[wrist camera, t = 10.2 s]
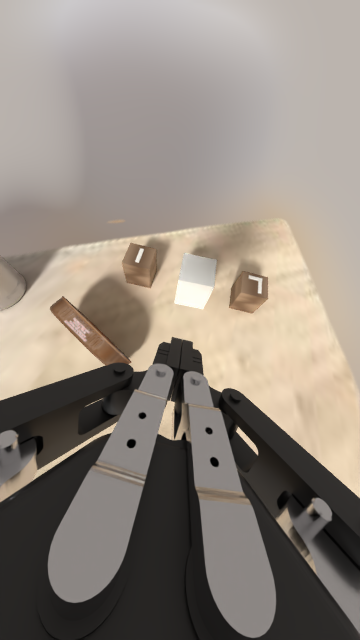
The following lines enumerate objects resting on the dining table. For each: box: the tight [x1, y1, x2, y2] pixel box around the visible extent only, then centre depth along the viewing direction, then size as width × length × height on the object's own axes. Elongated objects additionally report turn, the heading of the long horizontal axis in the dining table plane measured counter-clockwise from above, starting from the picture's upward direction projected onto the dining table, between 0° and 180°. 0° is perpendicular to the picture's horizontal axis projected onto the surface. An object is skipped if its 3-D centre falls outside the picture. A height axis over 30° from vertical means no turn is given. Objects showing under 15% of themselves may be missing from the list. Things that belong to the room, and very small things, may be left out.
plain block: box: [175, 253, 217, 309], centre depth 35 cm, size 6×6×8 cm
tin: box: [50, 296, 131, 365], centre depth 29 cm, size 15×3×8 cm, turn 48°
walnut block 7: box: [229, 271, 268, 313], centre depth 37 cm, size 5×5×6 cm
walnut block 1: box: [122, 243, 157, 288], centre depth 36 cm, size 5×5×6 cm
